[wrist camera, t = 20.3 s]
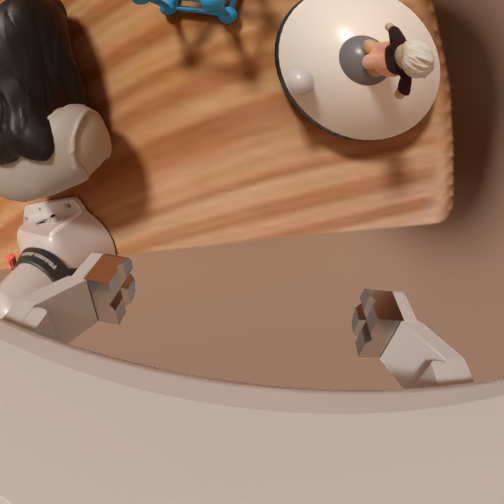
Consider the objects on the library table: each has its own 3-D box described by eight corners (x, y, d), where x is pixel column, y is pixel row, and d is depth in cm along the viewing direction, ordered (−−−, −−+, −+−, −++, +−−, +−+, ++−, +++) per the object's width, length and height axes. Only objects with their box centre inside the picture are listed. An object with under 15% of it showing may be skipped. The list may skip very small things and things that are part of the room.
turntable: (318, 158, 35) (322, 171, 30) (250, 17, 26) (244, 7, 21) (452, 116, 29) (474, 124, 24) (397, -22, 20) (413, -35, 15)
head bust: (143, 145, 40) (104, -34, 22) (79, 205, 27) (20, -46, 9) (47, 171, 44) (8, 28, 26) (-14, 225, 31) (-68, 50, 12)
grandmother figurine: (348, 34, 25) (382, 12, 14) (380, 29, 24) (427, 9, 13) (371, 97, 28) (414, 111, 18) (401, 91, 27) (455, 103, 17)
